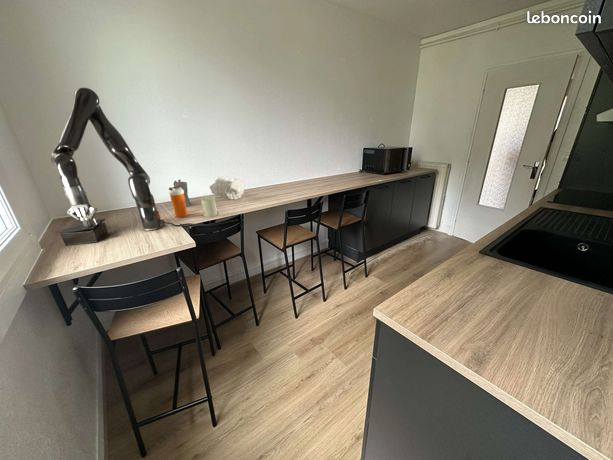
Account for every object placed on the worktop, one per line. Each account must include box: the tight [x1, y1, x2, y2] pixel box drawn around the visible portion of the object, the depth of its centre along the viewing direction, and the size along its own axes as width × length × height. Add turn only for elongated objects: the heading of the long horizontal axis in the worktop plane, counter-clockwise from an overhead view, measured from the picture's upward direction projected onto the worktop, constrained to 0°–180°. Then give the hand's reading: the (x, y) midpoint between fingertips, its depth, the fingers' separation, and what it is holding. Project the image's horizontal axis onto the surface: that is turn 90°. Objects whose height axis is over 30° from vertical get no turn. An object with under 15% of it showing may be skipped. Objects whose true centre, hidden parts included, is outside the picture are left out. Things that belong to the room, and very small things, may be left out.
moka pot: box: [172, 179, 191, 208], centre depth 187 cm, size 10×15×20 cm, turn 58°
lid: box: [59, 215, 106, 235], centre depth 134 cm, size 15×13×5 cm
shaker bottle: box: [168, 186, 188, 219], centre depth 166 cm, size 9×9×20 cm
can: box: [200, 196, 218, 218], centre depth 170 cm, size 9×9×12 cm
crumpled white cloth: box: [209, 175, 245, 201], centre depth 204 cm, size 18×18×25 cm
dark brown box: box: [60, 221, 109, 247], centre depth 136 cm, size 15×13×7 cm
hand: (88, 226), depth 131 cm, fingers closed
